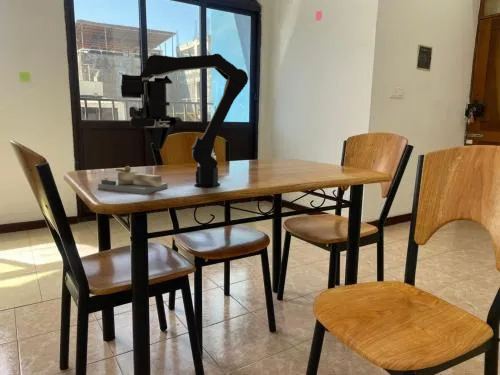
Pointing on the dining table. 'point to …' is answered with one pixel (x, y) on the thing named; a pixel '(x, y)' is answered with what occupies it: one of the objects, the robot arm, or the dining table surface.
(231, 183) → the dining table surface
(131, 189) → the level stand
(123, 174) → the cream stepped block
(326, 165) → the dining table surface
